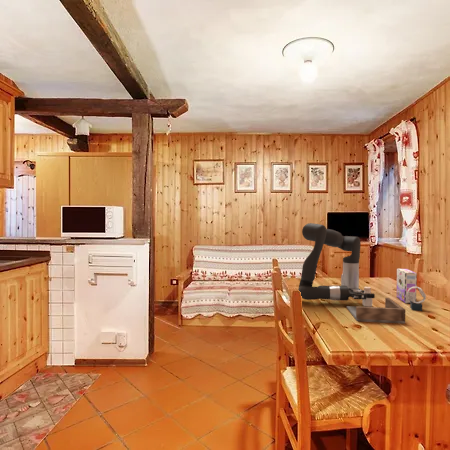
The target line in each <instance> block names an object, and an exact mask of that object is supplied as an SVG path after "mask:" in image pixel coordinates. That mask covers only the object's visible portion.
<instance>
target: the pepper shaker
mask: <svg viewBox="0 0 450 450" xmlns="http://www.w3.org/2000/svg"><path fill="white" fill-rule="evenodd" d="M363 290H364V293H372V287H371V286H364V287H363ZM362 297H364V295H362ZM361 300H362V301H361V304H362V306H363V307H373V298H366V299H361Z"/></svg>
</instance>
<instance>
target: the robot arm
mask: <svg viewBox="0 0 450 450" xmlns="http://www.w3.org/2000/svg"><path fill="white" fill-rule="evenodd" d="M301 233H302V236H303V238H304V239H305V240H307V241H310V242H314V245H313V246H314V247H313V248H312V250H311V251H310V253H309V255H308V256H307V257H306V258H305V260H304V261H303V264H302V269H301V276H300V280H299V284H298V288H297V289H298V290H299V291H300V292H301V296H302V298H301V299H303V300H305V301H306V300H308V301H311V300H312V301H314V300H328V301H329V300H331V301H341V302H342V301H343V302H344V301H346V302H347V301H349V298H351V299H353V300H362V299H366V298H372V299H375V296H376V295H375V293H373V292H371V293H364V289H361V288H359V286H360V258H361V244H362V243H361V239H360V237H359V236H353V235H352V236H351V235H350V236H348V235H345V236H344V235H343V234H342V233H341V232H339V231H336V230H334V229H329V228H327V226H325V225H324V224H319V223H312V222H310V223H307V224H304V226H303V227H302V230H301ZM324 245H325V246H328V247H332V248H338V249H340V250H342V251H344V252H351V253H350V255H349V256H344V257H343V258H342V274H341V277H340V279H341V280H340V283H341V284H340V285H318V286H313V284H314V281H315V278H316V273H317V267H318V263H319V259H320V256H321V253H322V251H323V247H324ZM298 290H297V291H298ZM362 295H364V297H362Z"/></svg>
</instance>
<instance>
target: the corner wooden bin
mask: <svg viewBox="0 0 450 450" xmlns="http://www.w3.org/2000/svg"><path fill="white" fill-rule="evenodd" d="M346 309H347V311H348V312H349V313H350V314H351V315H352V316H353V318H354V319H355V320H356V322H368V323H369V322H370V323H388V324H406V309H405V308H404V307H403V306H402V305H400V304H398V303H397V302H395V301H394V300H392V299H391V298H390V297H385V303H384V307H381V306H380V307H378V306H375V307H374V306H371V307H366V306H356V305H354V306H353V305H352V306H351V305H350V306H349V305H346Z"/></svg>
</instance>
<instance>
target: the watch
mask: <svg viewBox="0 0 450 450" xmlns="http://www.w3.org/2000/svg"><path fill="white" fill-rule="evenodd" d="M413 288H416V289H417V290H418V291H419V294H420V295H421V297H422V298H423V299H422V300H420V301H416V302H415V301H412V299H411V297H410V295H409V291H410V290H411V289H413ZM407 295H408V297H409V299H410V300H411V301H410V303H409V307H410V309H411V311H417V312H419V311H420V312H423V304H422V303H424V302H425V300H426V297H427V295H426V293H425V292H424V290H423V288H422V287H419V286H417V287H416V286H414V287H411V288H409V289H408V291H407Z"/></svg>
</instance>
